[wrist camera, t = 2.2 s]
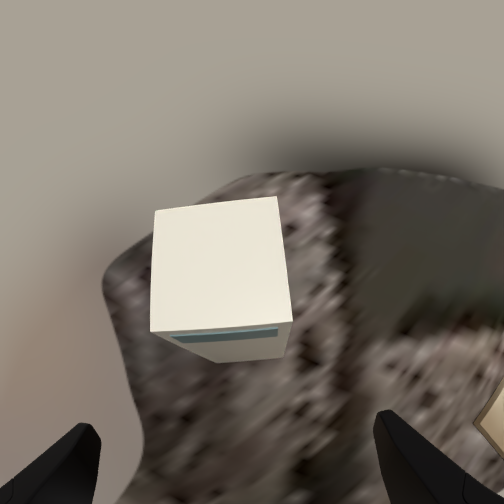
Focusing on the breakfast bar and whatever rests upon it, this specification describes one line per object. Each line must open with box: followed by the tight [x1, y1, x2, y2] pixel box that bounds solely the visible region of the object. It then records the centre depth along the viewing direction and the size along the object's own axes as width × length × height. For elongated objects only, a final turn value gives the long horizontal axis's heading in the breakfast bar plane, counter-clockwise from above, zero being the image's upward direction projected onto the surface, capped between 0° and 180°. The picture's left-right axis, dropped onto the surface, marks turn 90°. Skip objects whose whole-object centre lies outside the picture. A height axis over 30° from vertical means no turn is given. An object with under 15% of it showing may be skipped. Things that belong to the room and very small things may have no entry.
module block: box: [150, 196, 293, 363], centre depth 16 cm, size 5×4×12 cm
